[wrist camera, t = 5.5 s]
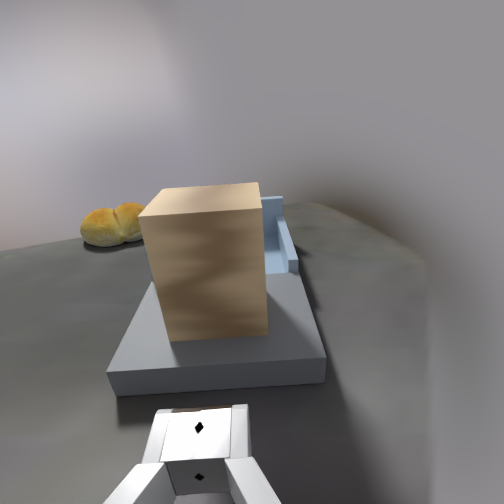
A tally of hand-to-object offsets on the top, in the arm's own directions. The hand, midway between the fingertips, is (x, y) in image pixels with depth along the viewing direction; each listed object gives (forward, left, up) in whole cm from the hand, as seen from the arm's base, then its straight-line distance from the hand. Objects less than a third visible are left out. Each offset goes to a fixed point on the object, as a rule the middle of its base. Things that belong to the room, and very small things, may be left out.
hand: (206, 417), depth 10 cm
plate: (0, +10, -5) cm, 11 cm away
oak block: (0, +10, -3) cm, 10 cm away
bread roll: (-15, +30, -6) cm, 34 cm away
